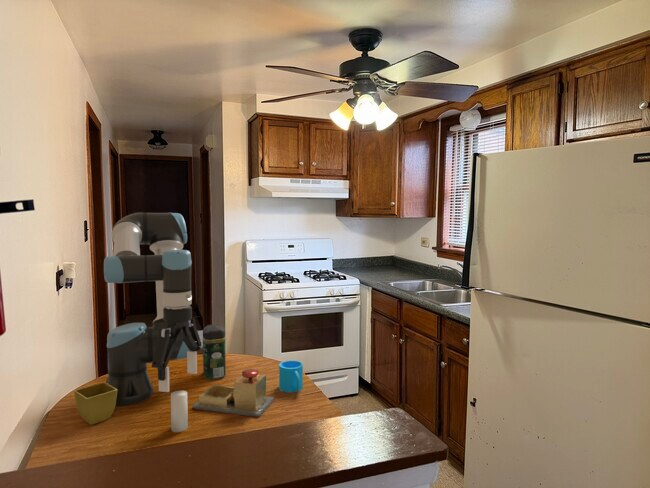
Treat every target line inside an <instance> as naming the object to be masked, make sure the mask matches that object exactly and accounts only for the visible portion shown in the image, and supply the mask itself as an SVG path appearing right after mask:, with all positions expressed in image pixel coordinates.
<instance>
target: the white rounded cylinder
mask: <svg viewBox="0 0 650 488" xmlns="http://www.w3.org/2000/svg"><path fill="white" fill-rule="evenodd" d="M188 409H189V407H188V392H187V390H175V391H173V392H171V394H170V423H171V424H170V427H171V429H170V430H171V431H172V432H173V433H182V432H185V431H186V430H188V428H189V422H188V421H189V417H188V415H189V414H188V413H189V411H188Z"/></svg>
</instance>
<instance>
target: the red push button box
mask: <svg viewBox="0 0 650 488" xmlns="http://www.w3.org/2000/svg"><path fill="white" fill-rule="evenodd" d="M233 384H234V386H229V385H221V384H213V385H211V386H210V387H209V388H208V389H206V390H205V391H204V392H202V393H201V394H200V395H198V396H199V397H198V401H196V402H195V403H193V404H192V407H193V409H196V410H204V411H211V412H217V413H218V412H219V413H224V414H225V413H226V414H232V415H240V416H245V417H246V416H248V417H253V418H254V417H255V418H260V417H261V416H262V415H264V413H265V411H266V410H268V408H269V407H270V406H271V405H272V404H273V402H274V401H275V397H273V396H267V375H266V374H260V370H258V369H255V368H254V369H252V368H249V369H248V368H247V369H245V370H243V371H241V376H240V377H238V379H236V380H235V381H234V382H233Z"/></svg>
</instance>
